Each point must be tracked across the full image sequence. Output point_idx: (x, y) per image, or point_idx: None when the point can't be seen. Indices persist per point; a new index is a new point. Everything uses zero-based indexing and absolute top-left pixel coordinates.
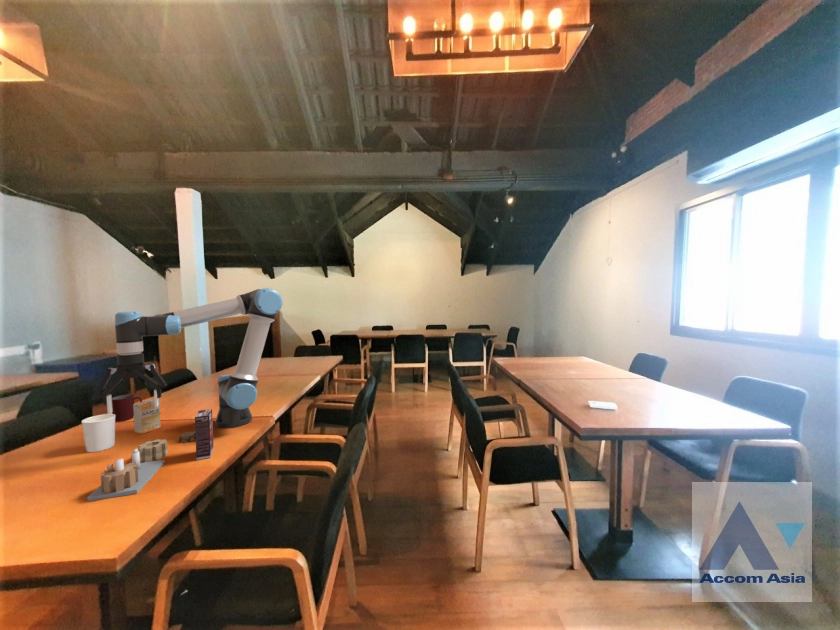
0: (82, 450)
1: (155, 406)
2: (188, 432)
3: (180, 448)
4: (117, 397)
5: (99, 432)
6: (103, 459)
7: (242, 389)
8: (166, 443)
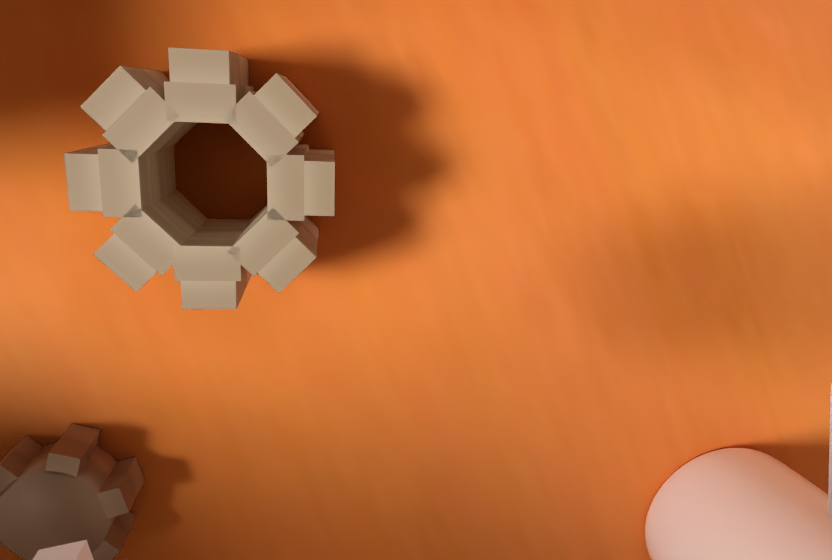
0: None
1: (62, 557)
2: None
3: (54, 295)
4: None
5: (799, 544)
6: (621, 272)
7: None
8: (76, 193)
